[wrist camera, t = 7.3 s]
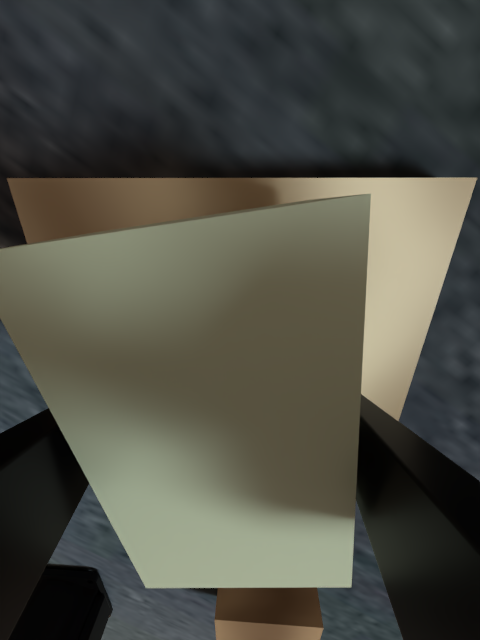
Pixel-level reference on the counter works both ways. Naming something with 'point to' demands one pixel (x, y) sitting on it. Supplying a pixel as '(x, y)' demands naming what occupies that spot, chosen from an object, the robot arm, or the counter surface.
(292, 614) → the walnut block
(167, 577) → the green block
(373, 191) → the birch board
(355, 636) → the counter surface
